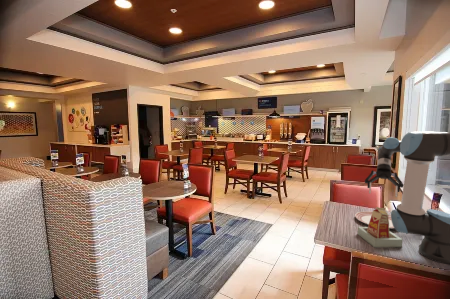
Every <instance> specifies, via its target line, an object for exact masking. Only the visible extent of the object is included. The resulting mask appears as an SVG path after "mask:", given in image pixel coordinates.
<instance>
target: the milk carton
mask: <svg viewBox="0 0 450 299" xmlns="http://www.w3.org/2000/svg"><path fill="white" fill-rule="evenodd" d="M372 211H373V213H372V216H371V219H370V222H369V225H368V224H367V225H368V226H367V227H368V229H367V232H368V233H369V234H371V235H372V236H373V237H375V238H390V232H391V231H390V229H389V219H388V215H389V214H388V212H387V211H386V207H378V206H376V207H375V209H373V210H372Z"/></svg>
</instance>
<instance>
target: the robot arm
mask: <svg viewBox="0 0 450 299" xmlns="http://www.w3.org/2000/svg"><path fill="white" fill-rule="evenodd" d="M394 153H400V154H401V155H402V156H403V158H404V159H405V160H406V167H405V173H404V180H403V182H402V180H401V178H399V176H398V173H397V172H394V173H392V172H391V171H392V156H393V154H394ZM449 156H450V132H446V131H410V132H408V133H406V134H404V135H403V136H402V138H401V140H399V139H398V138H396V137H393V136H390V137H387V138H386V139H385V140H384V142H383V143H382V145H381V146H379V148H378V151H377V161H376V162H377V165H376V166H377V168H376V171H374V170H373V169H372V170H371V172H370V173H369V175H368V176H367V177H366V178H365V180H364V184H367V189H369V190H368V194H371V192H372V191H371V190H372V183H373V182H375V181H377V180H378V179H382V180H383V179H384V180H388V181H389V182H391V183H392V185H394V186H395V198H398V194H399V193H400V192H401V189H400V188H402V195H401V200H400V201H401V202H400V204H397V206H396V207H397V210H396V209H392V210H391V212H390V215H391V220H392V224H393V226H394V228H393V229H394V230H395V231H396V232H398V233H400V234H405V235H408V234H409V235H416V236H418V235H419V236H423V239H422V240H421V242H420V244H419V245H418V252H419V254H421V256H423V257H425V258H427V259H429V260H432V261H434V262H436V263H441V264H445V265H450V213H448V212H445V211H441V210H438V209H433V208H432V209H431V208H429V209H426V210H425V209H424V208H423V204H424V199H425V192H426V189H427V188H426V187H427V180H428V176H429V175H428V174H429V169H430V164H431V163H432V162H435V157H449ZM392 176H393V177H392Z"/></svg>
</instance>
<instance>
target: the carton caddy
mask: <svg viewBox="0 0 450 299" xmlns="http://www.w3.org/2000/svg"><path fill="white" fill-rule="evenodd" d="M367 229H368V226H357V235H358V236H359V237H360V238H361V239H363V240H364V241H366V243H368V244H369V245H370V246H372V247H373V248H374V249H375V248H376V249H377V248H378V249H380V248H381V249H383V248H386V249H387V248H403V242H404V241H403V239H402V238H401V237H399V235H397V234H395V233H393V232H392V231H390V238H375V237H373V236H372V235H371V234H369V233H368V232H367Z"/></svg>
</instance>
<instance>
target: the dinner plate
mask: <svg viewBox="0 0 450 299" xmlns="http://www.w3.org/2000/svg"><path fill="white" fill-rule="evenodd" d="M372 213H373V210H372V211H369V210H367V211H365V210H364V211H358V212H356V213H355V214H354V216H355V218H356V220H358V221H359V222H362V223H364V224H365V225H369V222H370V219H371V216H372ZM388 219H389V230H391V229H395V228H394V226H393V224H392V220H391V214H388Z"/></svg>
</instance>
